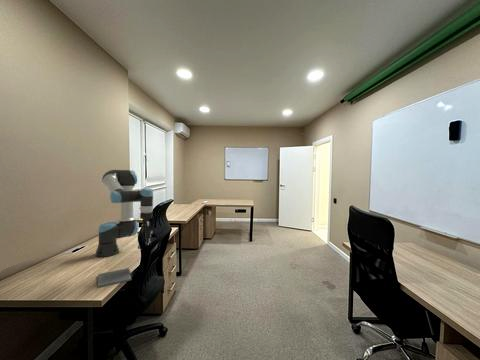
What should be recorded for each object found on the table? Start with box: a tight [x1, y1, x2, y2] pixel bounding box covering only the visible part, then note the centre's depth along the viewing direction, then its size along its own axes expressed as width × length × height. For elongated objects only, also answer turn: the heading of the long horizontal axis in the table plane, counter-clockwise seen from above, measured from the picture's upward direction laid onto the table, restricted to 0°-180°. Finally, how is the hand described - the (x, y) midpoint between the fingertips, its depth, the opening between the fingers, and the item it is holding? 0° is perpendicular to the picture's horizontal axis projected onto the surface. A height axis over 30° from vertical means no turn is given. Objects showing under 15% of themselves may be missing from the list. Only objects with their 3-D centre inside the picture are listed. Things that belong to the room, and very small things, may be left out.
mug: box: [136, 230, 153, 250], centre depth 139 cm, size 12×9×11 cm
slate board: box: [97, 267, 132, 288], centre depth 123 cm, size 16×16×1 cm
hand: (145, 246), depth 139 cm, fingers closed on mug, 8 cm apart
